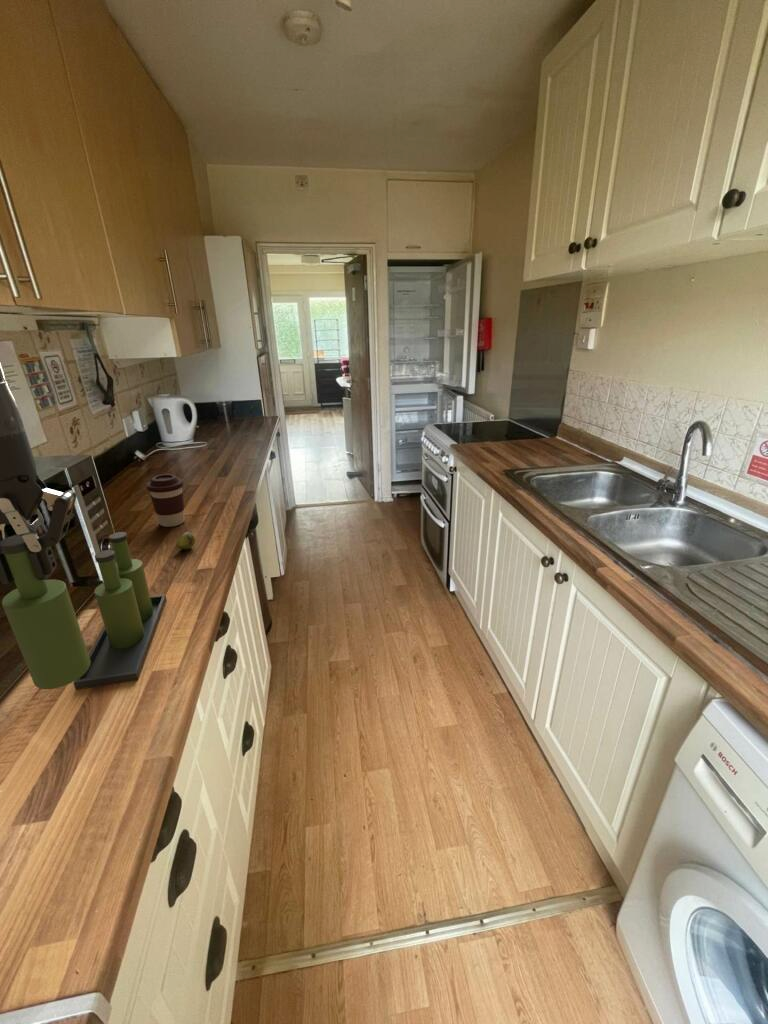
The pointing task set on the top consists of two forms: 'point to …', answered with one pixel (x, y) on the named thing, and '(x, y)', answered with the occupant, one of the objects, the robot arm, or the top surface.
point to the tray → (120, 654)
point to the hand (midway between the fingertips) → (28, 577)
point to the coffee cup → (167, 499)
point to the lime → (186, 541)
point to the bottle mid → (117, 604)
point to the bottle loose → (43, 621)
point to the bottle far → (132, 573)
